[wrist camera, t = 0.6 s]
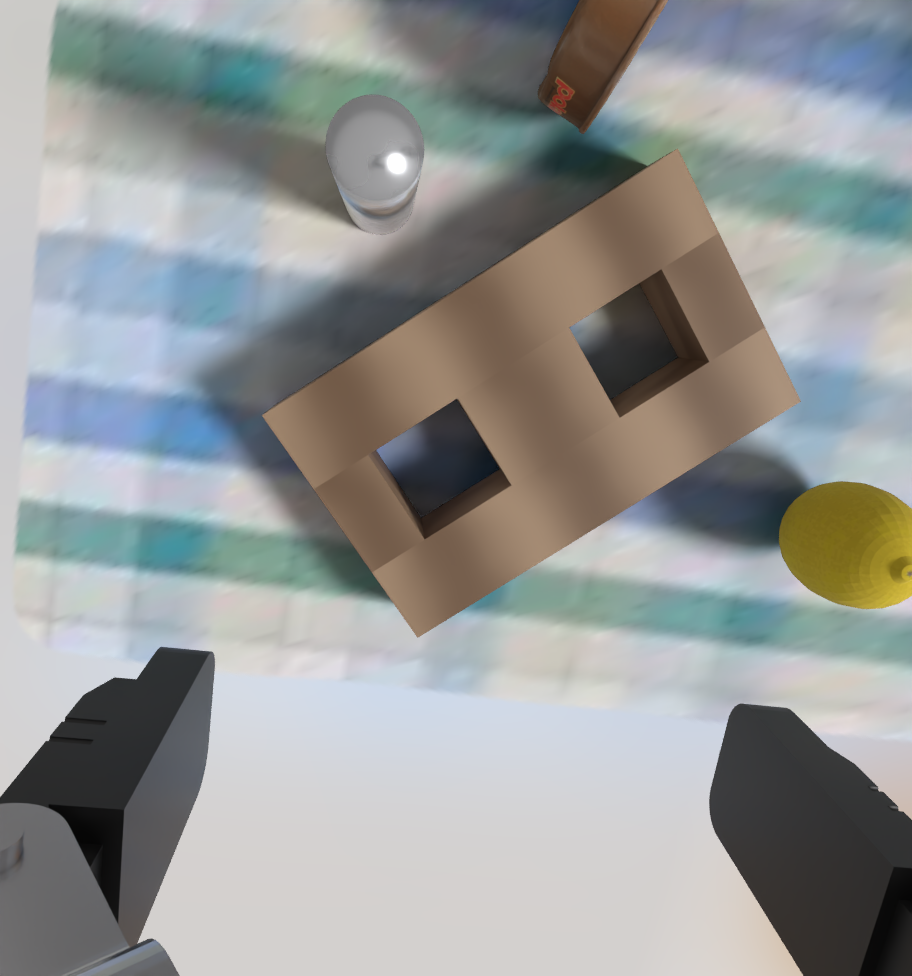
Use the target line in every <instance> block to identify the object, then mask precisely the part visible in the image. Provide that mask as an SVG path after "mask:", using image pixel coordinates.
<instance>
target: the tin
mask: <svg viewBox="0 0 912 976" xmlns="http://www.w3.org/2000/svg"><path fill="white" fill-rule="evenodd" d="M667 2H668V0H579V2H578V4H577V6H576V8H575V10H574V12H573V14H572V15H571V17H570V19H569V21H568V23H567V25H566V27H565V29H564V31H563V34H562V36H561V38H560V40H559V42H558V44H557V46H556V48H555V50H554V53H553V55H552V58H551V61H550V64H549V68H548V74H547V75H546V77H545V79H544V80H543V82H542V83H541V85H540V87H539V89H538V98H539V100H540V101H541V102H542V103H543V104H545V105H546V106H547V107H548V108H550V109H551V110H553V111H554V112H556V113H557V114H559V115H560V116H562V117H563V118H565V119H566V120H568V121H569V122H571V123H572V124H574V125H575V126H576V127H577V128H578V129H579V132H580V133H581V134H584V133H585V132H586V131H587V129H588V128H589V126H590V125H591V123H592V122H593V120H594V119H595V118H596V116H597V114H598V113H599V111H600V109H601V108H602V107H603V105H604V104H605V102H606V101H607V99H608V97H609V96H610V95H611V93H612V91H613V89H614V88H615V86H616V85H617V84H618V82H619V81H620V79H621V77H622V76H623V74H624V72H625V71H626V69H627V67H628V66H629V64H630V63H631V61H632V59H633V57H634V56H635V54H636V52H637V51H638V49H639V47H640V46H641V44H642V43H643V41H644V40H645V38H646V36H647V35H648V33H649V32H650V30H651V28H652V26H653V25H654V23H655V22H656V20H657V18H658V16H659V14H660V13H661V11H662V10H663V8H664V7H665V5H666V3H667Z"/></svg>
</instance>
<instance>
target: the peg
mask: <svg viewBox="0 0 912 976" xmlns="http://www.w3.org/2000/svg"><path fill="white" fill-rule="evenodd" d="M326 156H327V160H328V164H329V166H330V169H331V171H332V174H333V176H334V179H335V181H336V184H337V186H338V189H339V191H340V194H341V196H342V199H343V201H344V204H345V206H346V209H347V211H348V214H349V216H350V217H351V219H352V220H353V222H354V223H355V224H356V225H357V226H358V227H359V228H361V229H362V230H364V231H366V232H368V233H371V234H375V235H386V234H390V233H393V232H395V231H397V230H398V229H400V228H401V227H402V226H403V225H404V224H405V223H406V222H407V221H408V219H409V217H410V215H411V213H412V209H413V205H414V200H415V196H416V191H417V187H418V182H419V177H420V173H421V168H422V164H423V158H424V141H423V137H422V133H421V130H420V127H419V125H418V123H417V121H416V120H415V118H414V117H413V115H412V114H411V113H410V112H409V111H408V110H407V109H406V108H405V107H404V106H403V105H402V104H400V103H399V102H397V101H395V100H393V99H391V98H388V97H386V96H381V95H364V96H360V97H357V98H355V99H352V100H351V101H349V102H347V103H346V104H345V105H343V106H342V107H341V108H340V109H339V110H338V111H337V113H336V114H335V115H334V117H333V119H332V120H331V122H330V125H329V127H328V131H327V135H326Z"/></svg>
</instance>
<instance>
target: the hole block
mask: <svg viewBox="0 0 912 976" xmlns="http://www.w3.org/2000/svg"><path fill="white" fill-rule="evenodd" d="M637 284H640V286H641V288H642V289H643V291H644V293H645V295H646V297H647V299H648V301H649V303H650V305H651V307H652V308H653V310H654V312H655V314H656V316H657V318H658V320H659V322H660V324H661V326H662V328H663V329H664V331H665V333H666V335H667V337H668V339H669V341H670V343H671V345H672V347H673V348H674V350H675V352H676V354H677V356H678V358H676V359H675V360H673V361H672V362H670V363H668V364H667V365H665V366H664V367H662V368H660V369H659V370H657V371H656V372H654V373H652V374H651V375H649V376H648V377H646V378H644V379H643V380H641V381H640V382H638V383H636V384H635V385H633V386H632V387H630V388H628V389H627V390H625V391H624V392H622V393H620V394H619V395H617V396H616V397H614V398H613V399H611V400H609V398H608V396H607V394H606V393H605V391H604V389H603V387H602V385H601V384H600V382H599V380H598V378H597V377H596V375H595V373H594V371H593V369H592V368H591V366H590V364H589V362H588V361H587V359H586V357H585V355H584V353H583V352H582V350H581V348H580V346H579V344H578V343H577V341H576V339H575V337H574V336H573V334H572V332H571V330H570V328H569V327H571V326H572V325H574V324H575V323H577V322H579V321H580V320H582V319H583V318H585V317H586V316H588V315H590V314H591V313H593V312H594V311H596V310H598V309H599V308H601V307H602V306H604V305H605V304H607V303H609V302H610V301H612V300H613V299H615V298H616V297H618V296H620V295H621V294H623V293H624V292H626V291H628V290H629V289H631V288H632V287H634V286H635V285H637ZM455 399H457V401H458V402H459V404H460V405H461V407H462V409H463V410H464V412H465V414H466V415H467V417H468V418H469V420H470V422H471V423H472V425H473V426H474V428H475V430H476V431H477V433H478V434H479V436H480V438H481V439H482V441H483V443H484V444H485V446H486V447H487V449H488V451H489V452H490V454H491V455H492V457H493V459H494V460H495V462H496V463H497V465H498V467H499V468H500V469H499V470H497V471H496V472H494V473H493V474H491V475H489V476H488V477H486V478H485V479H483V480H481V481H480V482H478V483H477V484H475V485H473V486H472V487H470V488H469V489H467V490H466V491H464V492H462V493H461V494H459V495H458V496H456V497H454V498H453V499H451V500H450V501H448V502H446V503H445V504H443V505H442V506H440V507H438V508H437V509H435V510H434V511H432V512H430V513H429V514H427V515H426V516H424V517H422V518H421V517H420V516H419V514H418V513H417V511H416V510H415V508H414V507H413V505H412V504H411V502H410V501H409V499H408V498H407V496H406V495H405V493H404V492H403V490H402V489H401V487H400V486H399V484H398V483H397V481H396V480H395V478H394V477H393V475H392V474H391V472H390V471H389V469H388V468H387V466H386V465H385V463H384V462H383V460H382V459H381V457H380V456H379V454H378V452H377V451H376V449H378V448H380V447H381V446H383V445H384V444H386V443H388V442H389V441H391V440H392V439H394V438H395V437H397V436H399V435H400V434H402V433H403V432H405V431H406V430H408V429H410V428H411V427H413V426H414V425H416V424H418V423H419V422H421V421H422V420H424V419H425V418H427V417H429V416H430V415H432V414H433V413H435V412H436V411H438V410H440V409H441V408H443V407H444V406H446V405H448V404H449V403H451V402H452V401H454V400H455ZM799 402H801V401H800V399H799V396H798V394H797V392H796V390H795V388H794V386H793V384H792V382H791V380H790V378H789V376H788V374H787V372H786V370H785V368H784V366H783V364H782V362H781V360H780V357H779V355H778V353H777V351H776V349H775V347H774V345H773V343H772V341H771V339H770V337H769V335H768V333H767V331H766V329H765V327H764V325H763V323H762V321H761V318H760V316H759V314H758V312H757V310H756V308H755V306H754V304H753V302H752V300H751V298H750V296H749V294H748V292H747V290H746V288H745V286H744V284H743V281H742V279H741V277H740V275H739V273H738V271H737V269H736V267H735V265H734V263H733V261H732V259H731V257H730V255H729V253H728V251H727V249H726V247H725V245H724V242H723V240H722V238H721V236H720V234H719V232H718V230H717V228H716V226H715V224H714V222H713V220H712V218H711V216H710V214H709V212H708V210H707V208H706V205H705V203H704V201H703V199H702V197H701V195H700V193H699V191H698V189H697V187H696V185H695V183H694V181H693V179H692V177H691V175H690V173H689V171H688V169H687V166H686V164H685V162H684V160H683V158H682V156H681V154H680V152H679V150H678V149H676V150H674V151H673V152H671V153H669V154H667V155H666V156H664V157H662V158H660V159H659V160H657V161H655V162H654V163H652V164H650V165H648V166H647V167H645V168H644V169H642V170H640V171H639V172H637V173H636V174H634V175H633V176H631V177H630V178H628V179H626V180H625V181H623V182H622V183H620V184H619V185H617V186H616V187H614V188H612V189H611V190H609V191H608V192H606V193H605V194H603V195H602V196H600V197H598V198H597V199H595V200H594V201H592V202H591V203H589V204H588V205H586V206H584V207H583V208H581V209H580V210H578V211H577V212H575V213H573V214H572V215H570V216H569V217H567V218H566V219H564V220H563V221H561V222H559V223H558V224H556V225H555V226H553V227H552V228H550V229H549V230H547V231H545V232H544V233H542V234H541V235H539V236H538V237H536V238H535V239H533V240H531V241H530V242H528V243H527V244H525V245H524V246H522V247H521V248H519V249H517V250H516V251H514V252H513V253H511V254H510V255H508V256H506V257H505V258H503V259H502V260H500V261H499V262H497V263H496V264H494V265H492V266H491V267H489V268H488V269H486V270H485V271H483V272H482V273H480V274H478V275H477V276H475V277H474V278H472V279H471V280H469V281H468V282H466V283H464V284H463V285H461V286H460V287H458V288H457V289H455V290H454V291H452V292H450V293H449V294H447V295H446V296H444V297H443V298H441V299H439V300H438V301H436V302H435V303H433V304H432V305H430V306H429V307H427V308H425V309H424V310H422V311H421V312H419V313H418V314H416V315H415V316H413V317H411V318H410V319H408V320H407V321H405V322H404V323H402V324H401V325H399V326H397V327H396V328H394V329H393V330H391V331H390V332H388V333H387V334H385V335H383V336H382V337H380V338H379V339H377V340H376V341H374V342H372V343H371V344H369V345H368V346H366V347H365V348H363V349H362V350H360V351H358V352H357V353H355V354H354V355H352V356H351V357H349V358H348V359H346V360H344V361H343V362H341V363H340V364H338V365H337V366H335V367H334V368H332V369H330V370H329V371H327V372H326V373H324V374H323V375H321V376H320V377H318V378H316V379H315V380H313V381H312V382H310V383H309V384H307V385H305V386H304V387H302V388H301V389H299V390H298V391H296V392H295V393H293V394H291V395H290V396H288V397H287V398H285V399H284V400H282V401H281V402H279V403H277V404H276V405H274V406H273V407H272V408H271V409H269V410H268V411H267V412H266V413H264V414H263V415H262V416H263V418H264V419H265V421H266V422H267V423H268V425H269V426H270V428H271V429H272V431H273V432H274V433H275V435H276V436H277V438H278V439H279V441H280V442H281V443H282V445H283V446H284V448H285V449H286V451H287V452H288V453H289V455H290V456H291V458H292V459H293V460H294V462H295V463H296V465H297V466H298V468H299V469H300V470H301V472H302V473H303V475H304V476H305V478H306V479H307V480H308V482H309V483H310V485H311V486H312V488H313V489H314V490H315V492H316V493H317V495H318V496H319V498H320V499H321V500H322V502H323V503H324V505H325V506H326V508H327V509H328V510H329V512H330V513H331V515H332V516H333V518H334V519H335V520H336V522H337V523H338V525H339V526H340V528H341V529H342V530H343V532H344V533H345V535H346V536H347V538H348V539H349V540H350V542H351V543H352V545H353V546H354V548H355V549H356V550H357V552H358V553H359V555H360V556H361V558H362V559H363V560H364V562H365V563H366V565H367V566H368V567H369V569H370V570H371V572H372V573H373V575H374V576H375V577H376V579H377V580H378V582H379V583H380V585H381V586H382V587H383V589H384V590H385V592H386V593H387V595H388V596H389V597H390V599H391V600H392V602H393V603H394V605H395V606H396V607H397V609H398V610H399V612H400V613H401V615H402V616H403V617H404V619H405V620H406V622H407V623H408V625H409V626H410V627H411V629H412V630H413V632H414V633H415V635H416V636H417V637H420V636H421V635H423V634H424V633H426V632H428V631H429V630H431V629H433V628H434V627H436V626H437V625H439V624H441V623H442V622H444V621H446V620H447V619H449V618H450V617H452V616H454V615H455V614H457V613H459V612H460V611H462V610H463V609H465V608H467V607H468V606H470V605H471V604H473V603H475V602H476V601H478V600H480V599H481V598H483V597H484V596H486V595H488V594H489V593H491V592H493V591H494V590H496V589H497V588H499V587H501V586H502V585H504V584H506V583H507V582H509V581H510V580H512V579H514V578H515V577H517V576H519V575H520V574H522V573H523V572H525V571H527V570H528V569H530V568H531V567H533V566H535V565H536V564H538V563H540V562H541V561H543V560H544V559H546V558H548V557H549V556H551V555H553V554H554V553H556V552H557V551H559V550H561V549H562V548H564V547H566V546H567V545H569V544H570V543H572V542H574V541H575V540H577V539H578V538H580V537H582V536H583V535H585V534H587V533H588V532H590V531H591V530H593V529H595V528H596V527H598V526H600V525H601V524H603V523H604V522H606V521H608V520H609V519H611V518H613V517H614V516H616V515H617V514H619V513H621V512H622V511H624V510H626V509H627V508H629V507H630V506H632V505H634V504H635V503H637V502H638V501H640V500H642V499H643V498H645V497H647V496H648V495H650V494H651V493H653V492H655V491H656V490H658V489H660V488H661V487H663V486H664V485H666V484H668V483H669V482H671V481H673V480H674V479H676V478H677V477H679V476H681V475H682V474H684V473H686V472H687V471H689V470H690V469H692V468H694V467H695V466H697V465H698V464H700V463H702V462H703V461H705V460H707V459H708V458H710V457H711V456H713V455H715V454H716V453H718V452H720V451H721V450H723V449H724V448H726V447H728V446H729V445H731V444H733V443H734V442H736V441H737V440H739V439H741V438H742V437H744V436H745V435H747V434H749V433H750V432H752V431H754V430H755V429H757V428H758V427H760V426H762V425H763V424H765V423H767V422H768V421H770V420H771V419H773V418H775V417H776V416H778V415H780V414H781V413H783V412H784V411H786V410H788V409H789V408H791V407H793V406H794V405H796V404H797V403H799Z"/></svg>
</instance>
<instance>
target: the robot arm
mask: <svg viewBox="0 0 912 976" xmlns="http://www.w3.org/2000/svg"><path fill="white" fill-rule="evenodd" d="M214 669H215V658H214V653H213V652H209V651H199V650H188V649H178V648H167V647H160V648H159V649H158V650H157V651H156V653H155V654H154V655H153V657H152V658H151V660H150V661H149V662H148V664H147V665H146V667H145V668H144V670H143V671H142V672H141V674H140V675H139V677H138V678H137V679H136V680H135V679H125V678H113V679H111V680H109V681H107V682H106V683H104V684H102V685H100V686H99V687H97V688H95V689H94V690H92V691H90V692H88V693H86V694H85V695H83V696H82V698H81V699H80V700H79V701H78V703H77V704H76V705H75V706H74V707H73V709H72V710H71V711H70V713H69V714H68V715H67V716H66V717H65V721H64V722H61V723H60V725H59V726H58V727H57V728H56V729H55V731H54V732H53V733H52V734H51V736H50V740H49V741H46V742H45V743H44V744H43V746H42V747H41V748H40V749H39V750H38V752H37V753H36V754H35V755H34V756H33V758H32V759H31V760H30V761H29V763H28V764H27V765H26V766H25V768H24V769H23V770H22V771H21V772H20V774H19V775H18V776H17V777H16V779H15V780H14V781H13V782H12V783H11V785H10V786H9V787H8V788H7V790H6V791H5V792H4V794H3V795H2V796H1V797H0V976H179V974H178V972H177V971H176V968H175V967H174V965H173V963H172V961H171V959H170V957H169V956H168V954H167V952H166V951H165V949H164V948H163V947H162V946H161V945H160V943H158V942H157V941H156V940H154V939H147V940H145V941H143V942H141V943H138V944H137V942H138V940H139V938H140V935H141V933H142V930H143V928H144V925H145V923H146V920H147V918H148V916H149V913H150V910H151V908H152V906H153V903H154V901H155V898H156V896H157V893H158V891H159V889H160V886H161V884H162V881H163V879H164V876H165V874H166V871H167V869H168V866H169V864H170V862H171V859H172V857H173V854H174V852H175V849H176V847H177V845H178V842H179V840H180V837H181V835H182V832H183V830H184V827H185V825H186V823H187V820H188V818H189V815H190V813H191V810H192V808H193V805H194V803H195V801H196V798H197V796H198V793H199V790H200V786H201V783H202V779H203V775H204V770H205V766H206V759H207V753H208V743H209V731H210V718H211V706H212V694H213V681H214ZM709 804H710V815H711V821H712V825H713V828H714V830H715V833H716V834H717V836H718V838H719V840H720V841H721V843H722V844H723V846H724V848H725V849H726V851H727V853H728V854H729V856H730V857H731V859H732V861H733V862H734V864H735V866H736V867H737V868H738V870H739V872H740V874H741V875H742V877H743V878H744V880H745V881H746V883H747V885H748V887H749V888H750V890H751V891H752V893H753V895H754V896H755V898H756V900H757V901H758V903H759V904H760V906H761V908H762V909H763V911H764V912H765V914H766V916H767V917H768V919H769V921H770V922H771V924H772V925H773V927H774V929H775V930H776V932H777V933H778V935H779V937H780V938H781V940H782V942H783V943H784V945H785V946H786V948H787V950H788V951H789V953H790V954H791V956H792V957H793V959H794V961H795V963H796V964H797V966H798V967H799V969H800V971H801V972H802V974H803V976H912V820H911V819H910V818H909V817H908V816H907V815H906V814H905V813H904V812H900V811H898V806H897V805H896V804H895V803H894V802H893V801H892V800H891V799H890V798H889V797H888V796H887V795H886V794H885V793H884V792H879V791H878V786H876V785H875V784H874V783H873V782H872V781H871V780H870V779H869V778H868V777H867V776H866V775H865V774H864V773H863V772H862V771H861V770H860V769H859V768H858V767H857V766H856V765H855V764H854V763H852V762H850V761H849V760H847V759H846V758H844V757H843V756H841V755H840V754H838V753H837V752H835V751H833V750H832V749H830V748H829V747H827V745H826V744H825V743H824V742H823V741H822V740H821V739H820V738H819V737H818V736H817V735H816V734H815V733H814V732H813V731H812V730H811V729H810V728H809V727H808V726H807V725H806V724H805V723H804V722H803V721H802V720H801V719H800V718H799V717H798V716H797V715H796V714H795V713H794V712H792V711H791V710H790V709H788V708H781V707H771V706H761V705H750V704H738V705H737V706H735V707H734V709H733V710H732V712H731V714H730V716H729V719H728V723H727V727H726V731H725V735H724V739H723V743H722V747H721V751H720V754H719V758H718V763H717V766H716V771H715V774H714V778H713V782H712V786H711V791H710V799H709Z"/></svg>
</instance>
